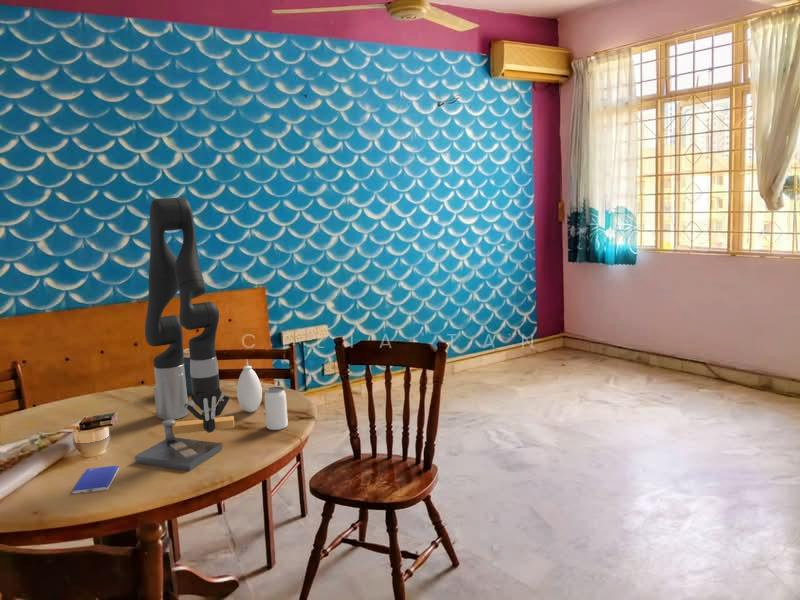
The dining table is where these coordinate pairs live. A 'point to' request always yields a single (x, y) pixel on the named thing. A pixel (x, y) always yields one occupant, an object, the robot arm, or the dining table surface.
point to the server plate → (179, 453)
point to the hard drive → (96, 479)
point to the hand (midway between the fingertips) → (209, 431)
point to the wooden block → (193, 426)
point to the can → (276, 408)
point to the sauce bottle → (249, 389)
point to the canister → (187, 371)
